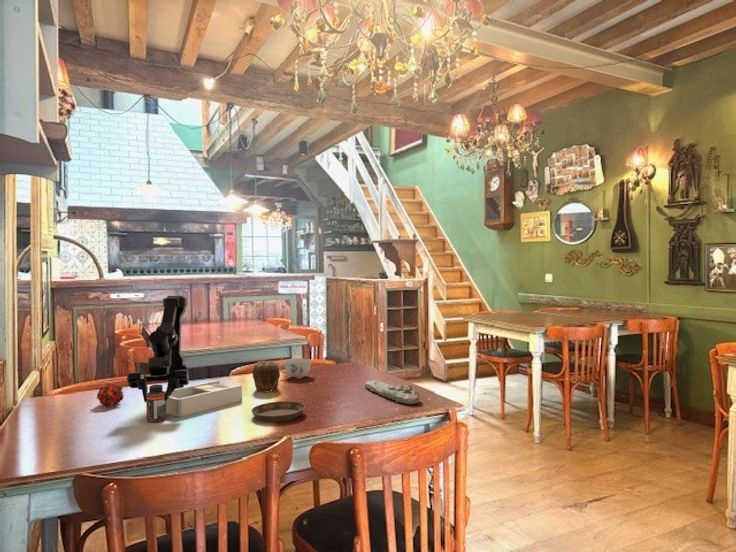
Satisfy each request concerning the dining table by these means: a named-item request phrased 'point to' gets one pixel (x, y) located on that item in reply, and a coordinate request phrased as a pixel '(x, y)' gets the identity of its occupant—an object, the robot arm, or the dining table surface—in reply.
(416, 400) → the long grey stone
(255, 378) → the brown ridged rounded piece
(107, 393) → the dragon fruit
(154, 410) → the supplement bottle
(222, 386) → the trapdoor
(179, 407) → the frame
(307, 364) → the teacup
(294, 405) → the plant saucer
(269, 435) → the dining table surface
